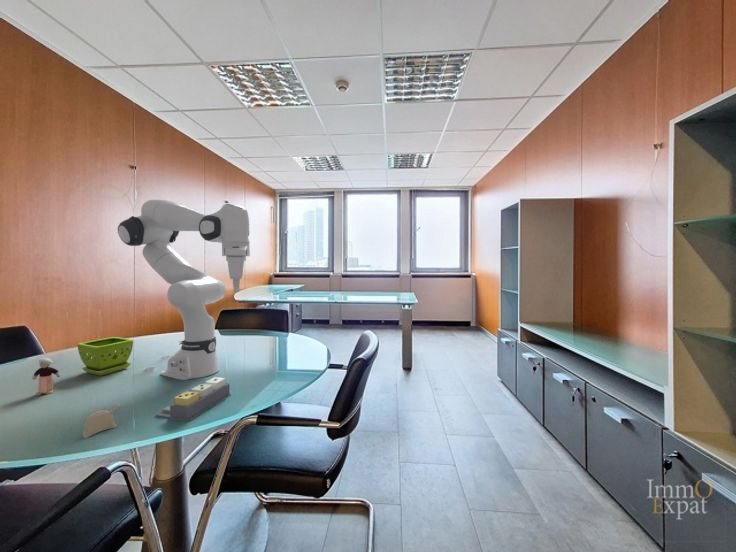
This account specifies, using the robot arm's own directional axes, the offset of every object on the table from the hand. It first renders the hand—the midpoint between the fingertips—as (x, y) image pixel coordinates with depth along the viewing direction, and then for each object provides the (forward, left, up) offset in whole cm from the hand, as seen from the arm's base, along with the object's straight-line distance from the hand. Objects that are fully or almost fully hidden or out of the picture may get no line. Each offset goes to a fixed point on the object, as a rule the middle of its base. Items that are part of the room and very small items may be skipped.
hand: (236, 290), depth 107 cm
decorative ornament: (-21, -30, -36) cm, 52 cm away
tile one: (-4, -6, -33) cm, 34 cm away
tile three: (-4, -18, -33) cm, 38 cm away
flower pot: (-68, +5, -36) cm, 77 cm away
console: (-7, -12, -36) cm, 39 cm away
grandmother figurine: (-65, -17, -36) cm, 76 cm away
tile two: (-4, -12, -33) cm, 36 cm away
